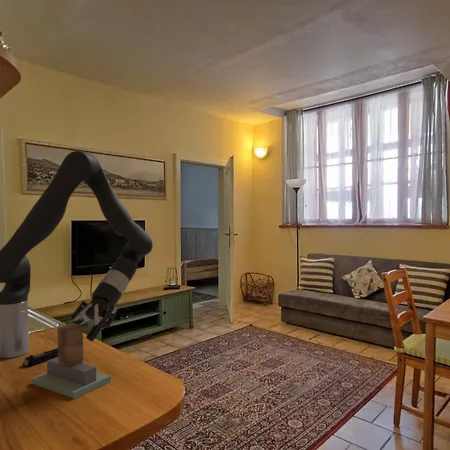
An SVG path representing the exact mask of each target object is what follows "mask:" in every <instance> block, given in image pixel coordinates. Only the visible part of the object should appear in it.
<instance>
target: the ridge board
mask: <svg viewBox="0 0 450 450" xmlns="http://www.w3.org/2000/svg"><path fill="white" fill-rule="evenodd" d="M111 382H112V376H111V375H109V374H105V373H102V372H99V371H97V366H94V365H91V364H87V363H84V362H83V363H80V364H78V365H75V366H73V367H70V368H67V367H63V366H60V365H58V357H56V358H54V359H49V360H46V372H44V373H41V374H39V375H36V376H32V378H31V384H33V385H34V386H37V387H40V388H44V389H45V390H49V391H52V392H55V393H56V394H60V395H62V396H65V397H68V398H71V399H73V400H74V399H77V398H79V397H81V396H84V395H85V394H88V393H90V392H92V391H94V390H96V389H98V388H101V387H102V386H104V385H106V384H109V383H111Z"/></svg>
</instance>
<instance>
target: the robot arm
mask: <svg viewBox="0 0 450 450" xmlns="http://www.w3.org/2000/svg"><path fill="white" fill-rule="evenodd" d="M82 182H84V183H85V184H86V185H87V186H88V188H89V190H91V192H93V195H94V196H95V197H96V200H97V202H98V203H97V204H99V208H100V210H101V213H102V215H103V216H104V218H105V220H106V222H107V223H108V225H109V226H110V227H111V229H112V230H113V232H114V233H115V234H116V235H117V236H120V237H121V236H123V237H124V239H125V240H127V242H126V243H125V245H124V246H123V248H122V249H121V251H120V254H119V256H118V257H117V259H116V260H115V262H114V263H113V265H112V266H111V267H110V269H109V270H108V271H107V273H106V274H105V275H104V276H103V278H102V279H101V280H100V282H99V283H98V285H97V286H96V287H95V289H94V291H93V292H92V294H91V300H90V302H86V301H85V300H82V301H81V302H80V304H78V307H77V308H76V309H75V310H74V312H73V314H72V315H71V316H70V319H71V320H72V321H73V322H72V323H74V324H79V325H83V324H84V323H86V322H89V321H90V320H92V321H93V320H94V324H93V325H92V327H91V328H90V329H89V331H88V333H87V335H86V337H85V338H86V339H87V340H88V341H89V342H94V340H95V339H96V337H97V336H98V335H99V333H100V332H101V330H103V329H104V328H105V329H108V328H110V327H111V325H112V323H113V321H114V319H115V318H116V316H117V314H118V312H119V309H118V308H117V307H116V306H117V304H118V303H119V301H120V300H121V298H122V296H123V294H124V293H125V291H126V289H127V288H128V286H129V283H130V282H131V280H132V278H133V277H134V275H135V274H136V272H137V269H138V267H137V266H138V265H139V263H140V261H141V260H142V259H143V258H144V257H145V256H148V254H149V253H151V252H152V251H153V240H152V238H151V237H150V235H149V234H148V233H147V232H146V231H145V230H144V229H143V228H142V227H141V226H140V225H139V224H137V223H136V222H135V221H134V219H133V217H132V216H131V214H130V213H129V212H128V210H127V209H126V207H125V206H124V205H123V203H122V202H121V200H120V199H119V197H118V195H117V193H116V192H115V191H114V189H113V188H112V185H111V184H110V181H109V180H108V177H107V176H106V174H105V171H104V170H103V168H102V165H101V162H100V161H99V159H98V158H97V157H96V156H95V155H93V153H89V152H86V151H83V150H74V151H71V152H70V153H68V154H67V155H66V156H65V157H64V158H63V160H62V162H61V164H60V165H59V167H58V169H57V171H56V173H55V175H54V177H53V179H52V180H51V182H50V183H49V184H48V186H47V188H46V189H45V190H44V191H43V192H42V194H41V196H40V197H39V198H38V199H37V201H36V202H35V203H34V205H33V206H32V208H31V209H30V211H28V214H27V215H26V216H25V218H24V219H23V220H22V222H21V224H20V225H19V227H18V228H17V229H16V231H15V232H14V234H13V235H12V236H11V238H10V239H8V241H7V242H6V244H5V245H3V247H2V248H0V284H4V287H3V288H2V290H1V291H0V359H10V358H16V357H20V356H24V355H26V354H27V353H29V352H30V337H29V336H30V333H29V332H30V331H29V330H30V328H29V326H30V325H29V294H30V290H31V273H32V272H31V270H32V269H31V263H30V260H29V259H28V257H27V254H28V253H29V252H30V251H32V250H33V249H34V248H35V247H37V246H38V245H40V244H41V243H42V242H43V241H45V240H46V239H47V238H48V237H49V236H50V235H52V233H53V232H55V230H56V229H57V228H58V225H60V223H61V221H62V219H63V218H64V217H65V214H66V211H67V207H68V203H69V200H70V198H71V196H72V194H74V191H75V190H77V188H78V187H79V185H81V183H82Z"/></svg>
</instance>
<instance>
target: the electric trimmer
mask: <svg viewBox="0 0 450 450" xmlns="http://www.w3.org/2000/svg"><path fill="white" fill-rule="evenodd" d="M56 357H58V347H57V348H53V349H50V350H46V351H44V352H42V353H38V354H34V355H33V354H31V355H29V356H27V357H25V358H24V360H23V362H22V367H25V368H31V367H32V366H34V365H37V364H40V363H42V362H45V361H46V362H47V361H48V360H51V359H54V358H56Z"/></svg>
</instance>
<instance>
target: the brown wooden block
mask: <svg viewBox="0 0 450 450" xmlns="http://www.w3.org/2000/svg"><path fill="white" fill-rule="evenodd" d="M56 330H57V348H58V365H60V366H63V367H67V368H70V367H73V366H75V365H78V364H80V363H84V335H83V333H84V330H83V324H81V325H79V324H74V323H73V322H72V323H71V322H70V323H68V324H65V325H60V326H57V329H56Z"/></svg>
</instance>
